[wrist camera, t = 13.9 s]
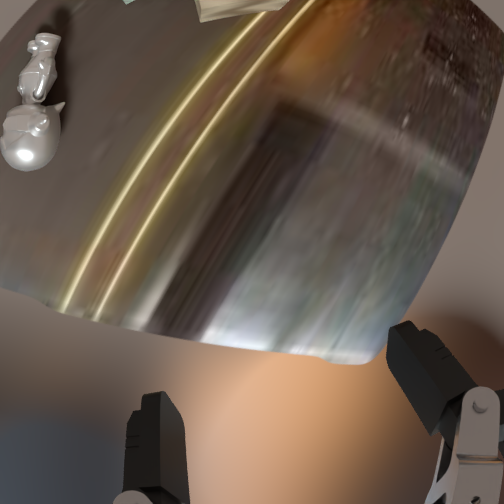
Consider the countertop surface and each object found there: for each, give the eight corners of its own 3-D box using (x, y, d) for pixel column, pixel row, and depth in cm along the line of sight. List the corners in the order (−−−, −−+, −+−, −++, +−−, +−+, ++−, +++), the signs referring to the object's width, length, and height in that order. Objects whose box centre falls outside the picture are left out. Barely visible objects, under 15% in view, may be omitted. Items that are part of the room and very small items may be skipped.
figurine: (36, 20, 18) (7, 175, 22) (97, 34, 25) (73, 173, 28) (10, 49, 24) (-11, 170, 28) (59, 56, 30) (40, 168, 34)
